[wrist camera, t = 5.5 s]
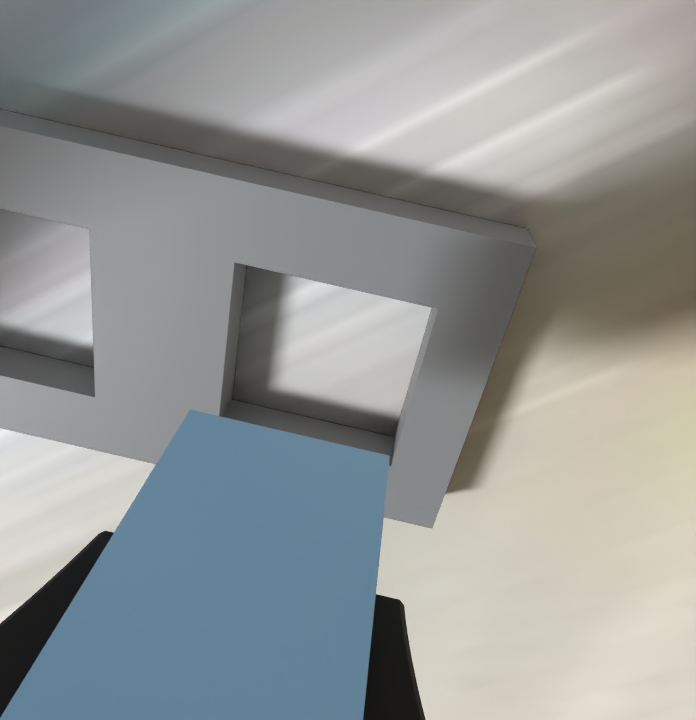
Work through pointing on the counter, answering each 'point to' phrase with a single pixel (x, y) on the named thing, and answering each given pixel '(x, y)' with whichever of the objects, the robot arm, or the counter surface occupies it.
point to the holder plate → (225, 297)
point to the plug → (226, 588)
